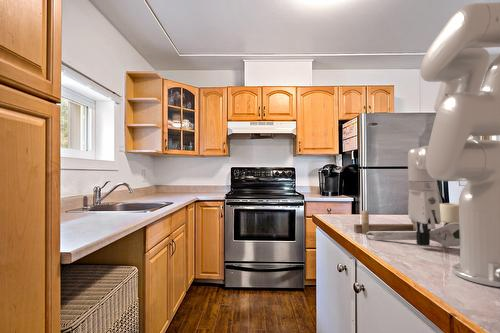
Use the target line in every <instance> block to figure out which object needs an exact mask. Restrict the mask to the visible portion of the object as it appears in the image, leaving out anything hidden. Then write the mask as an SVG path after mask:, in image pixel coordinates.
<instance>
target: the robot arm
mask: <svg viewBox="0 0 500 333" xmlns="http://www.w3.org/2000/svg"><path fill="white" fill-rule="evenodd" d="M432 41H433V42H432V43H431V44H430V46H429V48H428V49H427V51H426V53H425V54H424V56H423V59H422V61H421V65H420V69H419V70H420V71H419V74H420V76H421V79H422V80H423V81H426V82H429V83H430V82H432V83H437V82H440V85H439V89H438V92H437V95H436V99H435V102H434V106H433V110H434V112H436V114H435V117H434V121H433V125H432V130H431V135H430V137H429V141H428V142H429V143H428V145H423V146H421V147H416V148H411V149H409V150H408V152H407V170H408V173H407V174H408V175H407V176H408V183H407V184H408V185H407V186H408V200H407V201H408V203H407V214H408V218H409V220H410V221H411V224H414V225H415V230H416V240H415V241H416V244H417V245H419V246H430V243H431V242H430V241H431V240H430V232H431V230H434V229H437V227H436V225H439V224H441V222H442V221H441V214H440V204H441V203H440V197H439V193H438V192H437V181H440V182H441V181H442V182H466V184H465V185H464V187H463V189H462V190H461V192H460V194H459V197H458V198H459V199H458V204H459V234H460V246H459V263H456V264H453V265H452V273H454V275H456V276H458V277H460V278H461V279H465V280H466V281H469V282H473V283H476V284H480V285H483V286H484V285H485V286H490V287H498V288H500V141H499V140H495V139H481V137H490V136H491V137H493V136H494V137H496V136H497V137H498V136H500V53H499V54H498V55H497V56H496V57H495V58H494V60H493V61H492V62H491V63H490V58H491V57H490V53H489V51H488V50H487V49H488V48H500V2H479V3H478V2H477V3H470V4H468V5H464V6H463V7H461V8H459V9H458V10H457V11H455V12H454V14H453V15H452V16H451V17H450V18H449V20H448V21H447V22H446V24H445V25H444V26H443V28H441V31H440V32H439V33H438V34H437V36H436V38H435V39H434V40H432ZM485 48H486V49H485ZM489 63H490V65H489Z"/></svg>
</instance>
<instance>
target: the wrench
mask: <svg viewBox="0 0 500 333" xmlns="http://www.w3.org/2000/svg"><path fill="white" fill-rule="evenodd" d="M457 230H459V223H449V224H447V225H445V226H444V225H442V226H440V227H438V228H437V227H436V228H435V229H431V232H430V241H433V242H435V243H438V244H441V247H442V248H444V249H449V248H450V247H460V239H457V238H454V236H453V233H454V232H455V231H457ZM368 233H369V234H372V235H373V238H370V237H369V236H368V235H369V234H368ZM367 234H368V235H367ZM367 234H366V235H365V238H366V239H367V240H369V241H370V240H371V241H416V231H369V232H367ZM445 235H446V236H445Z"/></svg>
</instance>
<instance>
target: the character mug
mask: <svg viewBox="0 0 500 333" xmlns="http://www.w3.org/2000/svg"><path fill="white" fill-rule="evenodd" d="M439 204H440V214H441V222H442V223H444V224H443V226H445V225H447V224H449V223H459V203H453V202H452V203H451V202H450V203H449V202H444V203H439ZM445 236H446V235H445ZM453 236H454V238H457V239H460V234H459V230H457V231H455V232H454V233H453Z"/></svg>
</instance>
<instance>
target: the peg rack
mask: <svg viewBox="0 0 500 333" xmlns="http://www.w3.org/2000/svg"><path fill="white" fill-rule="evenodd" d="M369 213H370V212H369V210H361V223H354V225H353V231H354V232H355V233H356V234H363V235H365V236H366V234H367V232H369V231H416V230H415V225H414V224H413V223H388V224H387V223H378V224H377V223H370V221H369V220H370V217H369V216H370V215H369ZM368 235H370V233H368V234H367V236H368Z"/></svg>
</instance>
